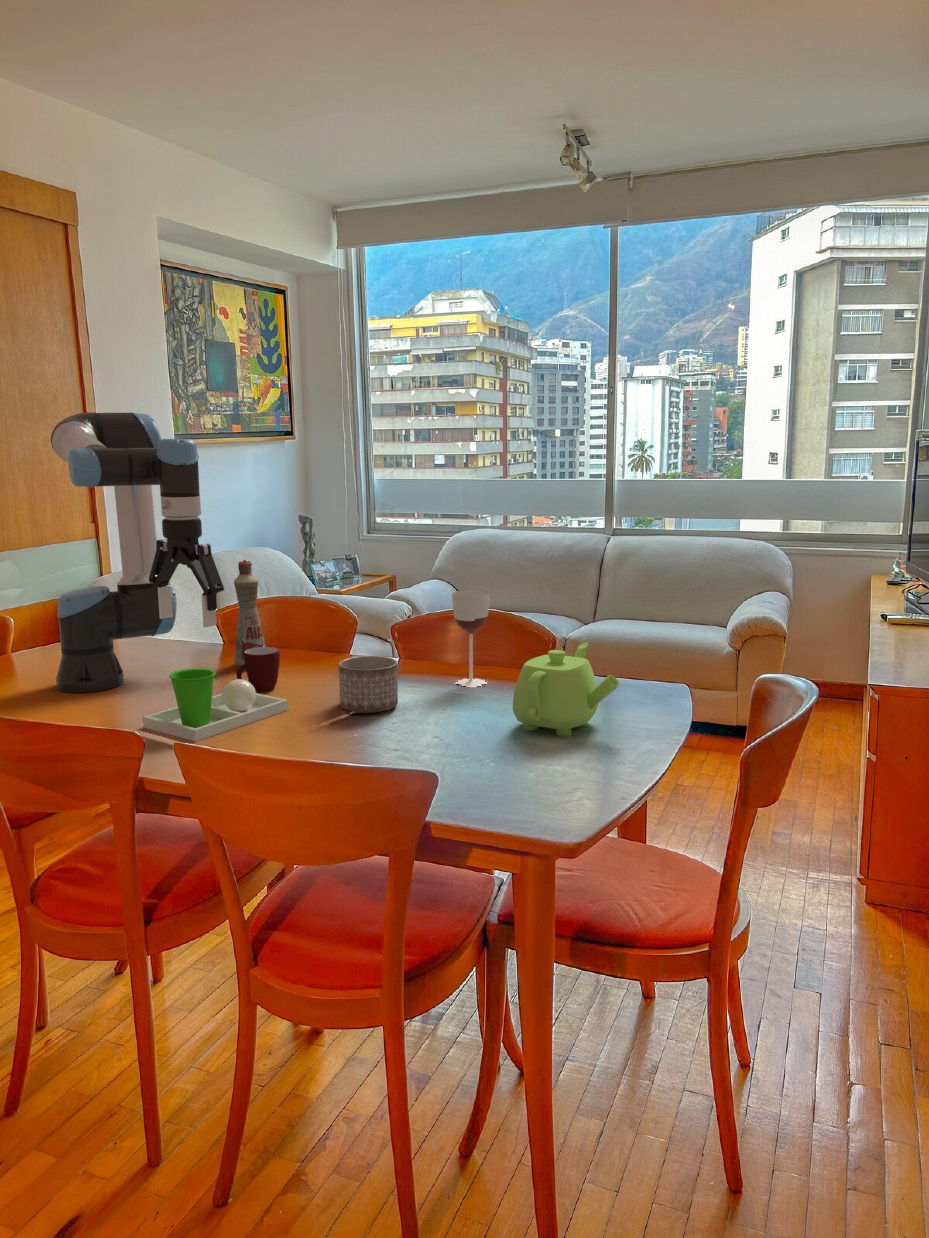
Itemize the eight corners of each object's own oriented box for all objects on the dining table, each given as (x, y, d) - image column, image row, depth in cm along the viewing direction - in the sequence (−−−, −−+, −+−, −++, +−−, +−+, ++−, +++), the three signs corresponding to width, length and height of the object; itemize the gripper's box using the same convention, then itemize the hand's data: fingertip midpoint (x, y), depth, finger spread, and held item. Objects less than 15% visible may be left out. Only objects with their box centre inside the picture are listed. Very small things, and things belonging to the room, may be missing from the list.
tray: (143, 730, 182) (142, 716, 182) (237, 701, 203) (237, 688, 202) (196, 745, 174) (195, 730, 173) (288, 713, 194) (288, 699, 193)
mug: (251, 701, 203) (249, 658, 201) (230, 695, 208) (227, 653, 206) (288, 691, 211) (286, 650, 209) (266, 685, 216) (264, 645, 214)
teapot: (594, 753, 169) (596, 671, 165) (495, 734, 180) (495, 657, 177) (643, 718, 189) (646, 645, 186) (551, 703, 201) (552, 634, 198)
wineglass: (446, 685, 215) (446, 595, 211) (461, 676, 224) (461, 589, 220) (480, 689, 212) (480, 597, 208) (494, 679, 221) (495, 591, 217)
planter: (373, 697, 206) (372, 653, 204) (409, 708, 198) (409, 662, 196) (328, 708, 198) (326, 662, 196) (364, 720, 189) (363, 672, 187)
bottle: (252, 659, 242) (247, 556, 237) (275, 664, 237) (271, 559, 232) (227, 666, 235) (221, 560, 230) (250, 671, 230) (244, 562, 225)
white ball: (216, 712, 192) (214, 680, 191) (241, 704, 198) (239, 673, 196) (238, 717, 188) (237, 685, 187) (263, 709, 194) (262, 678, 193)
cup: (228, 722, 185) (225, 670, 183) (198, 735, 177) (194, 681, 175) (194, 716, 189) (190, 666, 187) (163, 729, 181) (159, 676, 179)
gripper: (126, 515, 183) (133, 617, 187) (208, 523, 169) (214, 633, 174) (157, 512, 189) (163, 611, 193) (238, 520, 175) (243, 626, 180)
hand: (187, 621), depth 184 cm, fingers open, 13 cm apart
